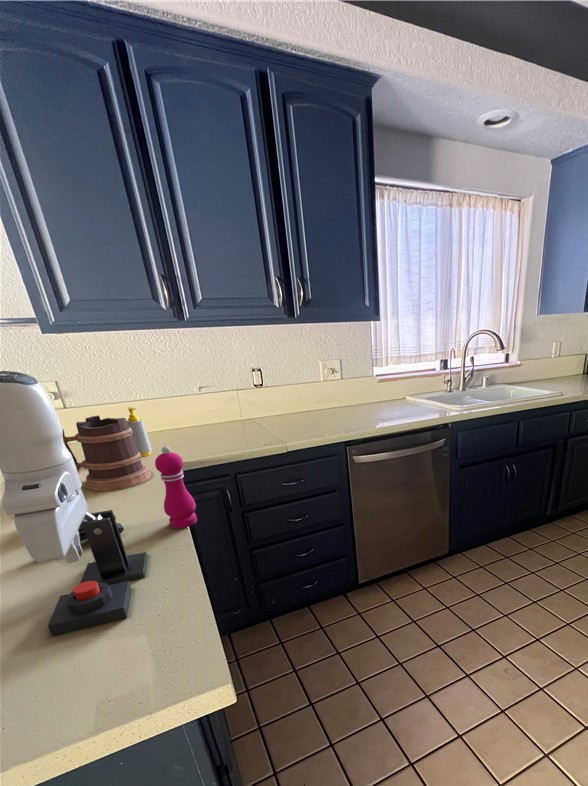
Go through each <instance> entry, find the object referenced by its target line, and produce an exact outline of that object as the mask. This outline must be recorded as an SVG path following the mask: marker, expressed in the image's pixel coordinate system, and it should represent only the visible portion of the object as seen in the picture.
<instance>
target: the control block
mask: <svg viewBox="0 0 588 786" xmlns="http://www.w3.org/2000/svg"><path fill="white" fill-rule="evenodd" d="M98 586H99V589H100V593H99V594H98V595H97V596H95V597H93V598H91V599H87V600H83V601H78V600H77V599H76V597H75V594H74V592H73V590H72V591H71V592H70V593H66V594H62V595H60V596H59V598H58V601H57V603H56V605H55V607H54V610H53V612H52V614H51V616H50V619H49V621H48V623H47V628H48V630H49V632H50V635H51V636H52V637H54V636H59V635H62V634H66V633H71V632H74V631H79V630H82V629H86V628H91V627H95V626H98V625H103V624H107V623H111V622H116V621H119V620H124V619H127V618H128V613H129V608H130V602H131V597H132V592H133V590H132V587H131V584H130V580H129V581H125V582H120V583H115V584H111V585H107V584H106V583H98Z"/></svg>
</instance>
